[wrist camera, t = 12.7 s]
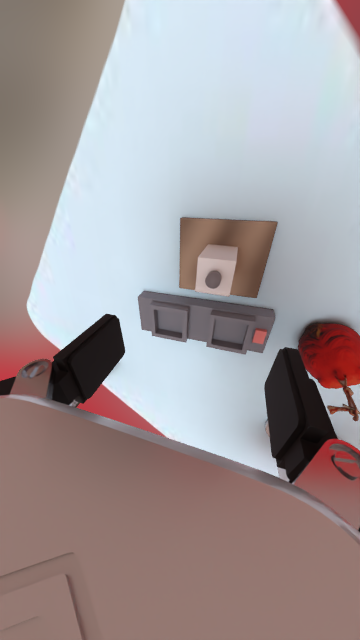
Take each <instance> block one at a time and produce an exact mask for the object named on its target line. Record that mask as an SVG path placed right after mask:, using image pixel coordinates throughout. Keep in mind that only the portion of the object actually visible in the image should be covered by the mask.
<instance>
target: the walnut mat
mask: <svg viewBox="0 0 360 640" xmlns="http://www.w3.org/2000/svg"><path fill="white" fill-rule="evenodd" d="M277 223H278V222H272V221H249V220H226V219H203V218H180V282H179V288H184V289H192V290H195V287H196V275H197V263H198V257H199V255H200V254H201V253H202V251H203V250H204V249H205V248H206V246H207V245H208V244H211V245H222V246H233V247H238V252H237V261H236V266H235V271H234V276H233V281H232V286H231V291H230V295H237V296H244V297H252V298H257V295H258V291H259V288H260V284H261V280H262V277H263V273H264V270H265V266H266V263H267V259H268V255H269V252H270V248H271V245H272V241H273V237H274V234H275V230H276V227H277Z"/></svg>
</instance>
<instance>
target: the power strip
mask: <svg viewBox="0 0 360 640" xmlns="http://www.w3.org/2000/svg"><path fill="white" fill-rule="evenodd" d="M138 303H139V311H140V319H141V327H142V330H147V331H152V336H156V337H161V338H166V339H171V340H176V341H181V342H186V341H187V339H193V340H198V341H203V342H207V346H206V347H211V348H216V349H221V350H226V351H231V352H236V353H241V354H246V351H247V350H249V351H254V352H260V353H263V350H264V348H265V345H266V342H267V340H268V337H269V334H270V332H271V329H272V326H273V323H274V321H275V314H274V311H273V309H266V308H259V307H252V306H245V305H238V304H231V303H224V302H217V301H210V300H203V299H196V298H189V297H182V296H175V295H168V294H161V293H154V292H147V291H144V292H142V293H141V294H140V295H139V296H138Z"/></svg>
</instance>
